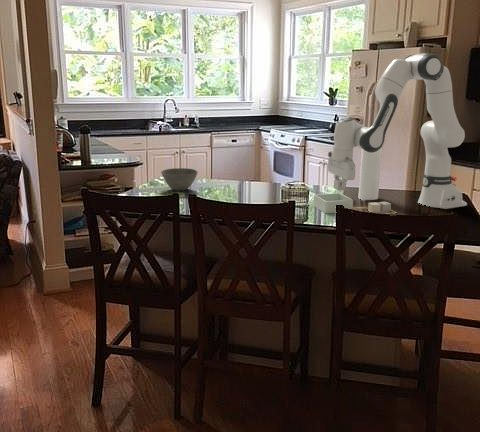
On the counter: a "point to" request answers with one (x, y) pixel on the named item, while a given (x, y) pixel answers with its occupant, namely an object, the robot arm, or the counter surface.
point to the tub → (331, 202)
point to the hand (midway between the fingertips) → (340, 185)
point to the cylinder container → (370, 175)
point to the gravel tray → (367, 208)
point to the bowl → (179, 178)
